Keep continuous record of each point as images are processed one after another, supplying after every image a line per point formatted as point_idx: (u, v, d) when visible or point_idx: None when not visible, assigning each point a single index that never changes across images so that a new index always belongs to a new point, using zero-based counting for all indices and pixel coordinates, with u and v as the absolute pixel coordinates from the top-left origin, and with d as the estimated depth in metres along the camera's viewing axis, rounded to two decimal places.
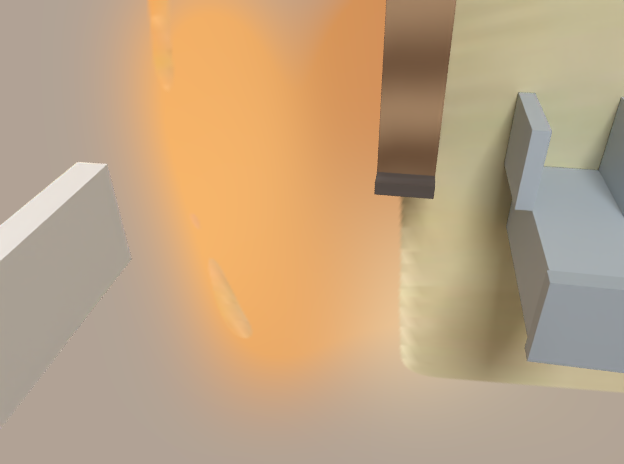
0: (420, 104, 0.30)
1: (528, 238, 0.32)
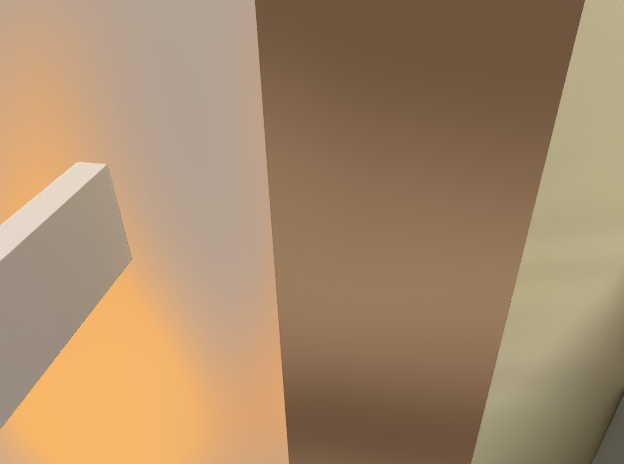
0: None
1: None
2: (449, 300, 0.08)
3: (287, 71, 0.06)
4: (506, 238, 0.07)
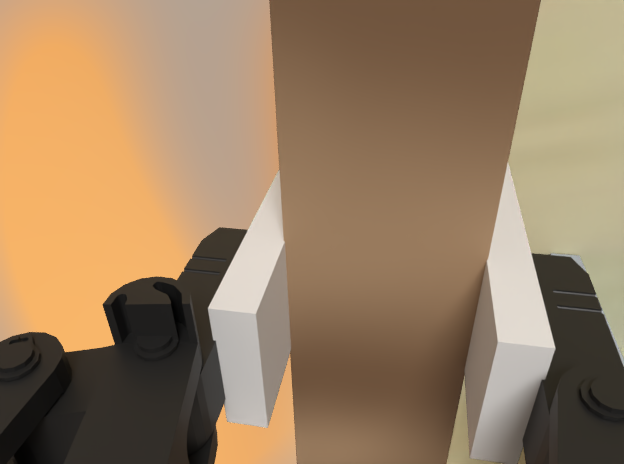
0: (389, 450, 0.12)
1: None
2: (437, 249, 0.09)
3: (295, 44, 0.08)
4: (485, 191, 0.08)
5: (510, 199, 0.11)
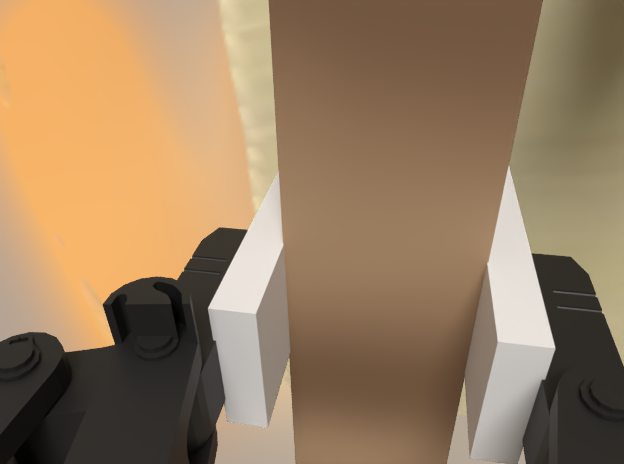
0: (388, 453, 0.12)
1: None
2: (436, 252, 0.09)
3: (295, 46, 0.07)
4: (485, 194, 0.08)
5: (510, 199, 0.11)
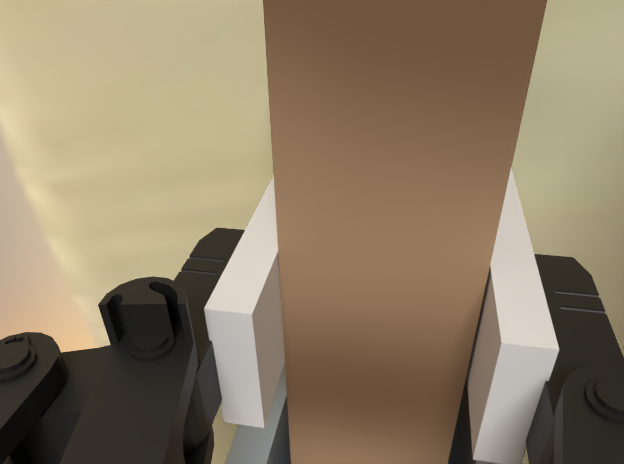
0: (386, 463, 0.12)
1: None
2: (435, 261, 0.09)
3: (290, 49, 0.07)
4: (486, 202, 0.08)
5: (512, 199, 0.11)
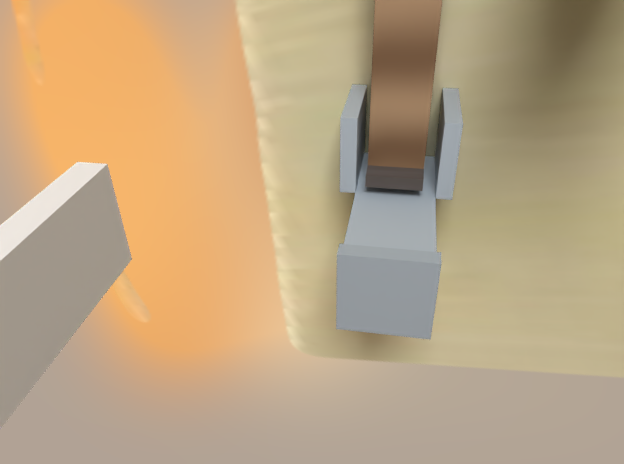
0: (408, 98, 0.31)
1: None
2: None
3: None
4: None
5: None
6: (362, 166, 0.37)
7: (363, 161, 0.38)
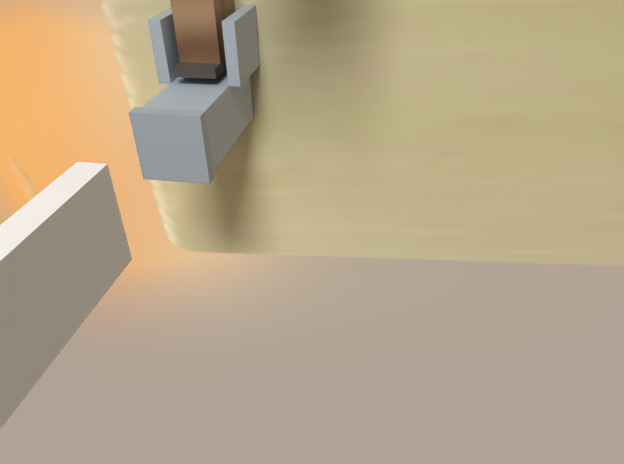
0: (197, 5, 0.41)
1: None
2: None
3: None
4: None
5: None
6: None
7: None
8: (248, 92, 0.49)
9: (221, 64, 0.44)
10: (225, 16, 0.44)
